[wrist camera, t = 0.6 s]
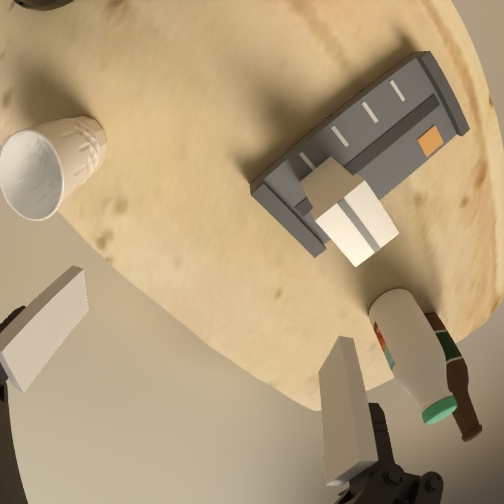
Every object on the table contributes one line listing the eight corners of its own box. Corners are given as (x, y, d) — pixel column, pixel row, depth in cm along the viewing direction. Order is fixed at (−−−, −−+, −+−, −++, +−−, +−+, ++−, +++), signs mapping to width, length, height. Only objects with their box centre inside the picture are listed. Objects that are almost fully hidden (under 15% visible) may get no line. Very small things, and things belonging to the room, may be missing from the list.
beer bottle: (395, 336, 45) (443, 454, 25) (425, 306, 41) (487, 425, 21) (417, 343, 47) (462, 446, 27) (444, 316, 43) (500, 420, 23)
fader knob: (329, 221, 29) (355, 268, 22) (294, 182, 26) (315, 221, 20) (363, 194, 27) (399, 233, 21) (331, 151, 25) (365, 180, 18)
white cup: (73, 97, 22) (13, 113, 13) (126, 134, 25) (78, 161, 17) (45, 157, 25) (-10, 191, 17) (92, 192, 28) (47, 237, 20)
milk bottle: (370, 292, 38) (425, 415, 21) (414, 281, 38) (478, 389, 21) (365, 327, 42) (406, 438, 26) (406, 316, 42) (454, 417, 25)
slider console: (308, 243, 33) (314, 257, 31) (249, 184, 29) (250, 194, 26) (454, 123, 25) (469, 129, 22) (414, 51, 20) (430, 51, 18)
